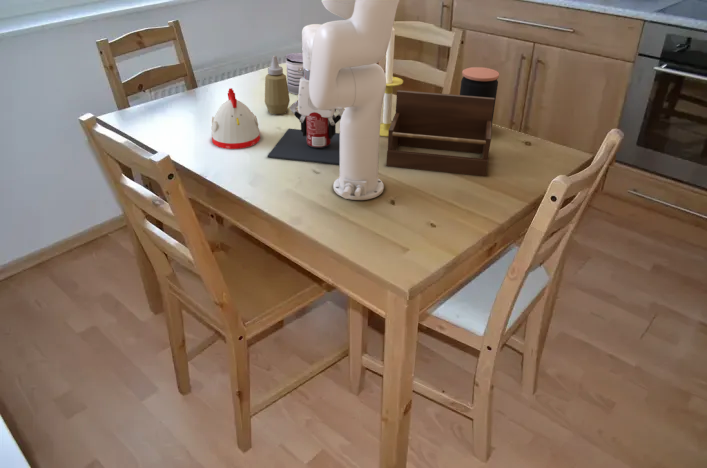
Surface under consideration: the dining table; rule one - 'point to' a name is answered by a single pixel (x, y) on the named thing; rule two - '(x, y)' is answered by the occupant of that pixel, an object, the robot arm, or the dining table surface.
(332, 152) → the mat
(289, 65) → the can
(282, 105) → the squeeze bottle
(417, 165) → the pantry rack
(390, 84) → the candle
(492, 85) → the coffee jar
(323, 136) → the soda can
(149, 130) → the dining table surface
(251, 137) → the kitchen timer
